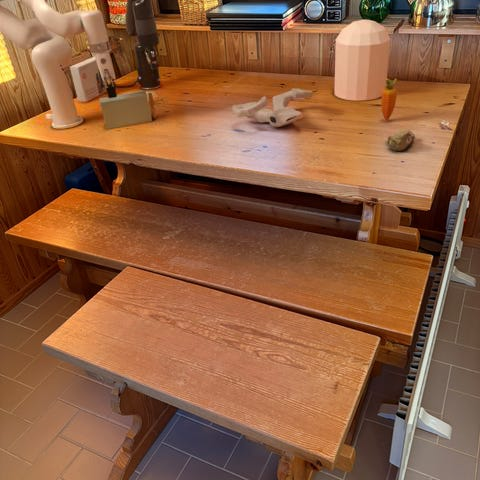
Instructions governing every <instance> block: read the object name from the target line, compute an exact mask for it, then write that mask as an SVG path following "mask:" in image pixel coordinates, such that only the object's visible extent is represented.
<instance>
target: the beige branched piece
mask: <svg viewBox="0 0 480 480" xmlns="http://www.w3.org/2000/svg"><path fill="white" fill-rule="evenodd" d="M313 93H314V92H313V91H312V90H307V89H302V88H292V89H291V90H289V91H286V92H283V93H281V94H277V95H275V96H272V102H271V103H272V107H273V109H272V110H271V109H266V108H265V107H267V106H268V98H267V96H266V95H264V96H262V97H261V98H260V99H259V100H258V101H257V102H256V101H251V102H246V103H240V104H234V105H232V106H231V107H232V108H231V109H232V112H233V113H234V115H235V116H237V118H244V117H246V118H248V119H252V120H257V122H259V123H269V124H270V126H272V127H274V128H280V127H284V126H287V125H290V124H294V123H296V121H298V120H301V119H302V112H301V111H300V110H297V109H295V108H294V107H291V106H288V105H289V103H290V102H292V101H299V100H308V101H310V100H311V99H312V97H313Z"/></svg>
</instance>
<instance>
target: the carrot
mask: <svg viewBox="0 0 480 480" xmlns="http://www.w3.org/2000/svg"><path fill="white" fill-rule="evenodd" d="M397 81H398V78H395V79H394V80H393V82H391V79H390V78H387V79H386V89H384V90H383V91H382V96H381V97H380V98H381V100H380V101H381V102H380V104H381V112H382V113H381V114H382V117H383V119H384V120H385V121H386V122H388V121H389V119H390V118H391V117H392V114H393V112H394V109H395V106H396V101H397V96H398V95H397V94H398V91H397V89H395V88H394V86H395V85H396V83H397Z"/></svg>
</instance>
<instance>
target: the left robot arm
mask: <svg viewBox="0 0 480 480" xmlns="http://www.w3.org/2000/svg"><path fill="white" fill-rule="evenodd" d="M3 1H4V0H0V2H3ZM16 1H17V2H18V3H20V4H22V5H23V6H25V7H26V8H28V9H29V10H31V11H32V12H34V14H35V17H33V18H28V19H22V18H20V17H19V16H18V15H16V14H15V13H14V12H13V11H11V10H10V9H9V8H7V7H5V6H3V5H1V4H0V33H1V34H2V35H4V36H5V37H6V38H7V39H8V40H9V41H11V42H12V43H13V44H14V45H16V46H17V47H18V48H20V49H21V50H30V49H32V51H31V61H32V63H33V65H34V67H35V69H36V71H37V73H38V75H39V78H40V80H41V83H42V87H43V89H44V92H45V95H46V98H47V101H48V105H49V107H50V111H51V113H46V114H45V119H46V121H52V122H51V126H52V128H54V129H58V130H63V129H69V128H70V129H71V128H75V127H76V126H79V125H81V124H82V123H83V122H84V118H83V116H81V115H79V114H78V111H77V107H76V104H75V100H74V97H73V93H72V90H71V86H70V83H69V80H68V78H67V75H66V74H65V71H64V69H62V67H61V66H62V65H64V64H67V63H68V62H69V61H70V60H71V59H72V57H73V55H74V52H73V48H72V46H71V44H70V43H69V42H68V41H67V40H66V39H69V38H73V37H75V36H78V35H80V34H81V35H82V34H83V33H84V34H85V37H86V41H87V45H88V48H89V52H90V54H91V55H94V57H95V58H96V61H97V65H98V68H99V71H100V74H101V77H102V79H103V81H105V84H106V90H107V92H106V93H107V97H109V98H114V97H117V95H118V94H117V90H116V87H115V85H116V84H114V82H115V81H116V79H117V77H116V73H115V69H114V64H113V61H112V58H111V55H110V52H111V51H112V46H111V43H110V39H109V36H108V31H107V27H106V24H105V19H104V15H103V12H102V11H101V10H99V9H90V10H82V9H81V10H79V9H76V10H72V11H68V12H65V13H63V14H62V13H60V12H59V11H57V10H56V9H54V8H53V7H51V6H50V5H49V4H48V0H16ZM113 81H114V82H113Z"/></svg>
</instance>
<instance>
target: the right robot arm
mask: <svg viewBox="0 0 480 480" xmlns="http://www.w3.org/2000/svg"><path fill="white" fill-rule="evenodd" d="M124 22H125V29H126V32H127V34H128V35H129V36H131V37H137V40H138V41H136V42H135V44H134V45H133V50H134V54H135V59H136V64H137V67H136V71H137V72H136V73H137V77H136V79H135V81H134V82H133V83H132V84H129V85H116V84H115V83H116V82H115V80H113V82H114V85H115V88H121V89H125V88H132V87H134V86H135V85H136V84H137V85H139V87H140V89H142V90H143V91H151V90H152V91H153V90H157V89H159V88H161V87H162V84H161V76H160V71H159V68H160V65H159V59H158V52H157V50H156V48H155V46H158V45H159V44H160V40H159V38H160V37H159V33H158V28H157V27H158V26H157V22H156V19H155V15H154V8H153V0H126V8H125V19H124Z"/></svg>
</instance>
